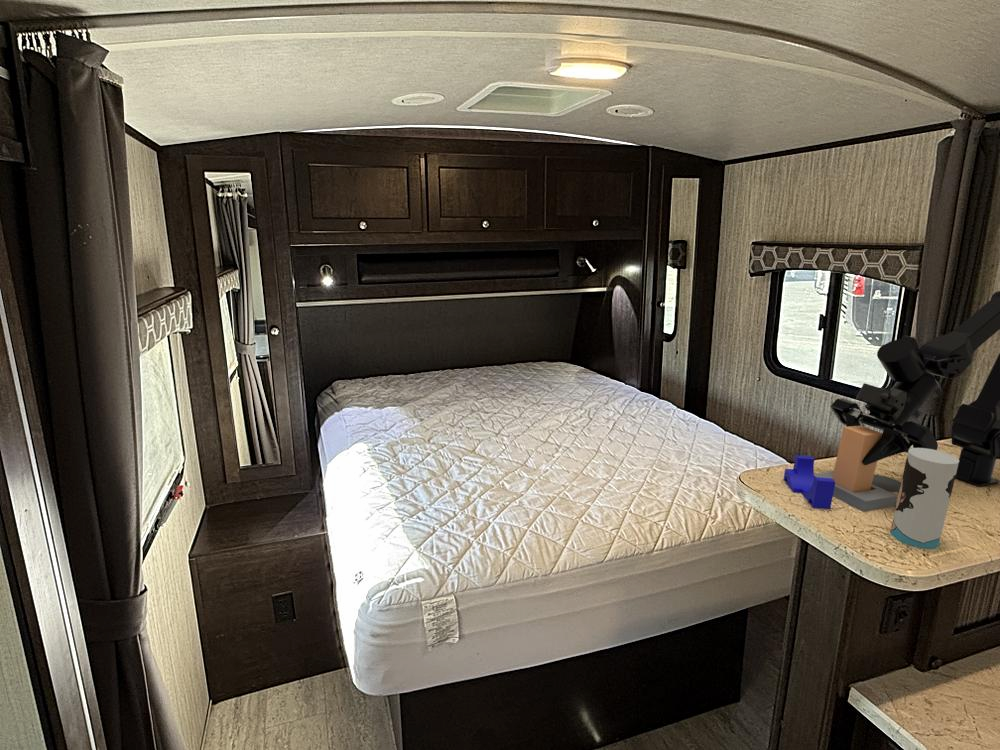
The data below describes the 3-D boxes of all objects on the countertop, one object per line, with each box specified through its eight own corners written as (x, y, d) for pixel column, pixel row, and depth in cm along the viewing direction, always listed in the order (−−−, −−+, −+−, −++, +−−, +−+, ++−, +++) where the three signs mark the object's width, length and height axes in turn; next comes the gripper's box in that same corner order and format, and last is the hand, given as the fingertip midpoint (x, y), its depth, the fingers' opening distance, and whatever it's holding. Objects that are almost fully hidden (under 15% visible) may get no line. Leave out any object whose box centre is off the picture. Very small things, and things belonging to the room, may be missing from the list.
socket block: (839, 481, 123) (841, 469, 122) (894, 508, 112) (897, 495, 111) (808, 486, 120) (811, 474, 120) (862, 514, 109) (865, 501, 109)
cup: (936, 537, 102) (956, 453, 98) (940, 555, 96) (962, 467, 92) (889, 526, 105) (907, 444, 101) (890, 543, 100) (909, 457, 96)
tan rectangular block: (848, 484, 118) (861, 425, 116) (869, 494, 114) (883, 433, 111) (830, 486, 117) (843, 426, 114) (851, 496, 113) (865, 435, 110)
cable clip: (782, 482, 122) (787, 454, 120) (806, 484, 121) (811, 456, 120) (803, 510, 110) (808, 479, 109) (829, 512, 110) (835, 481, 108)
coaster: (878, 475, 127) (879, 472, 127) (916, 491, 119) (916, 488, 119) (850, 479, 124) (850, 476, 124) (886, 496, 117) (887, 493, 117)
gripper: (845, 358, 120) (793, 416, 119) (941, 383, 103) (881, 451, 102) (867, 393, 124) (817, 450, 123) (962, 423, 107) (905, 489, 106)
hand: (851, 458), depth 114 cm, fingers closed on tan rectangular block, 5 cm apart
